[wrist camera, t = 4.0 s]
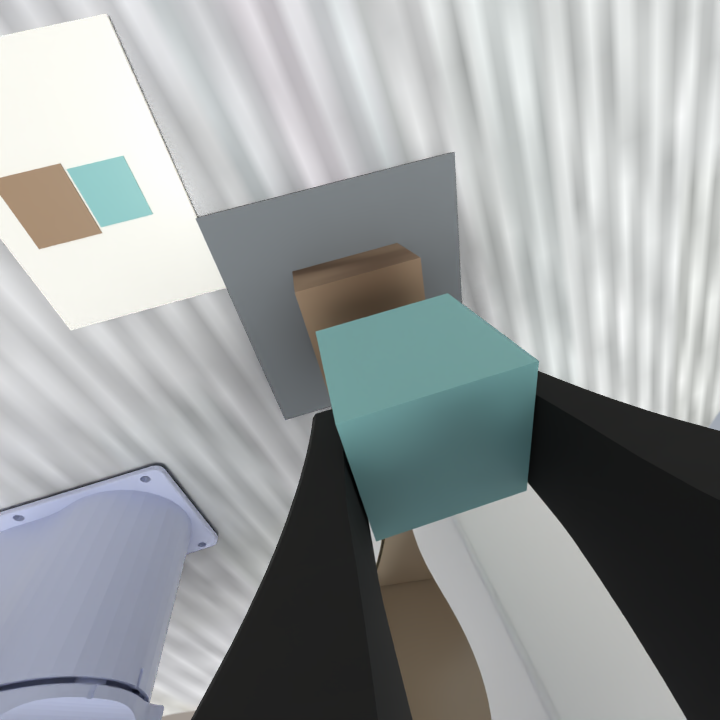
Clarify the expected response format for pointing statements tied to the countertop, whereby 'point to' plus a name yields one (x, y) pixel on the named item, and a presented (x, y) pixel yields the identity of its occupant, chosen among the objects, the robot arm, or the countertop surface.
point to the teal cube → (429, 411)
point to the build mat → (328, 257)
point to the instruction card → (92, 179)
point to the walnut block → (357, 288)
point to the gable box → (511, 622)
